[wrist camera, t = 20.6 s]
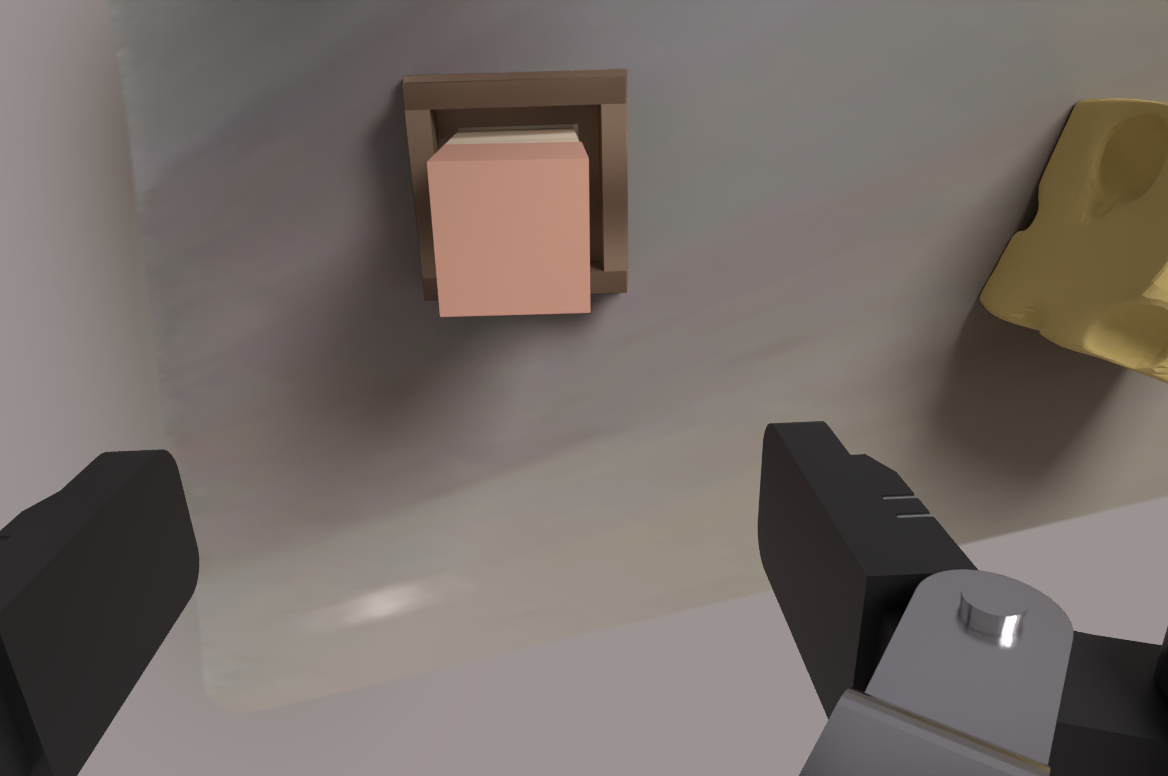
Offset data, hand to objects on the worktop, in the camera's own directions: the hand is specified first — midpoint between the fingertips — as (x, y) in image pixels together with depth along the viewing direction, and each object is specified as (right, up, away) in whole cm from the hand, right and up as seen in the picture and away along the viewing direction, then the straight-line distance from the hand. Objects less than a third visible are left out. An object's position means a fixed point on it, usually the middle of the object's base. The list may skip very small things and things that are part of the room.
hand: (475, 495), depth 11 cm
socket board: (-1, +11, +26) cm, 28 cm away
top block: (-1, +8, +20) cm, 21 cm away
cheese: (+27, +9, +28) cm, 40 cm away
